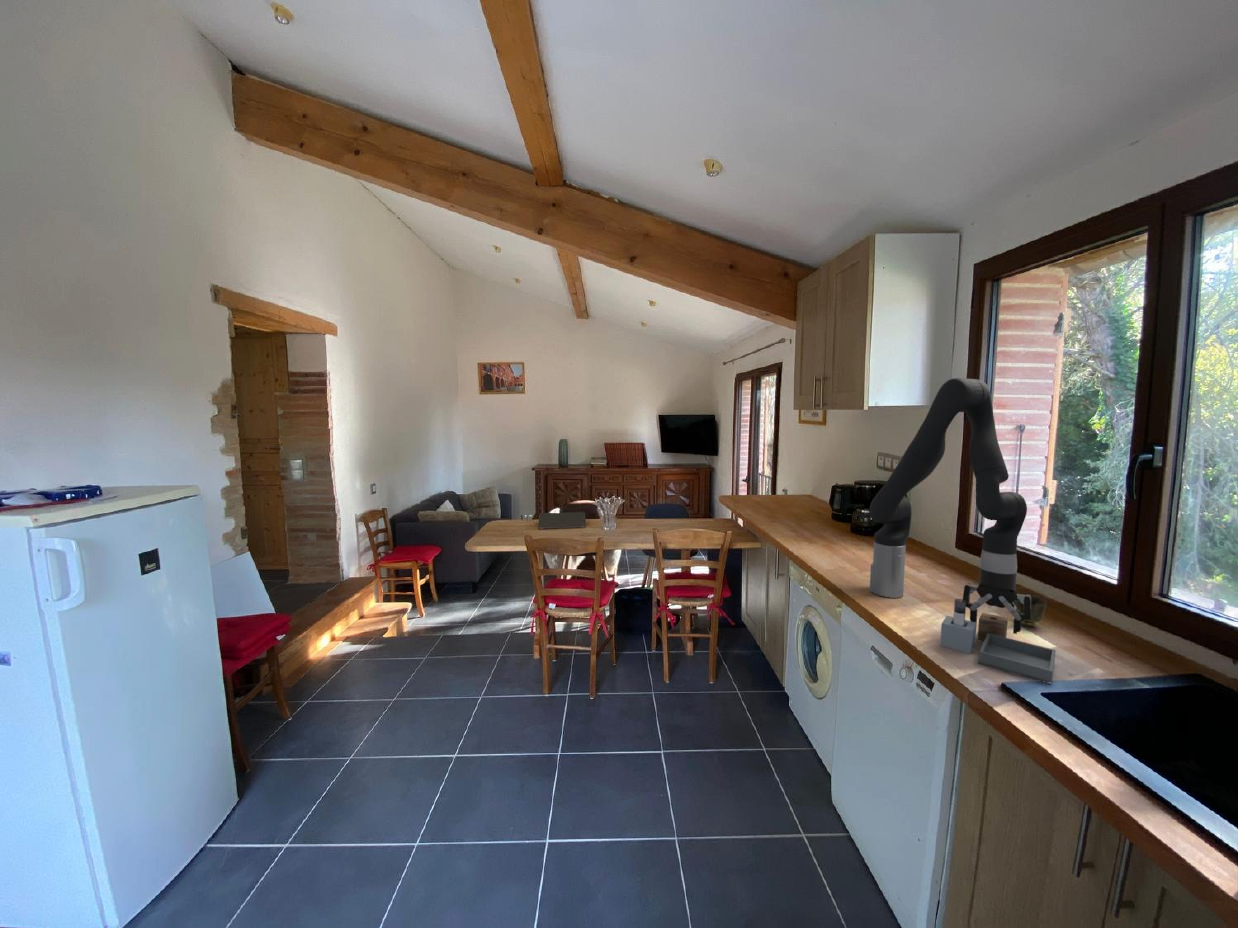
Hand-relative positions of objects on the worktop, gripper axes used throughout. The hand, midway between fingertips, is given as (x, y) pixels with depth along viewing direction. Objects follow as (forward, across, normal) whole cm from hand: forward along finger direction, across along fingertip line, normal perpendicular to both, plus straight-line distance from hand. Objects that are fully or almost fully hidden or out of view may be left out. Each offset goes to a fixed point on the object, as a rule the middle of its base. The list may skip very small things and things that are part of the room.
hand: (994, 627), depth 128 cm
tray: (+4, +6, -10) cm, 12 cm away
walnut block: (+4, 0, 0) cm, 4 cm away
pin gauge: (+3, -6, -9) cm, 12 cm away
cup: (+4, +6, +18) cm, 19 cm away
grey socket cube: (+3, -6, -9) cm, 12 cm away
